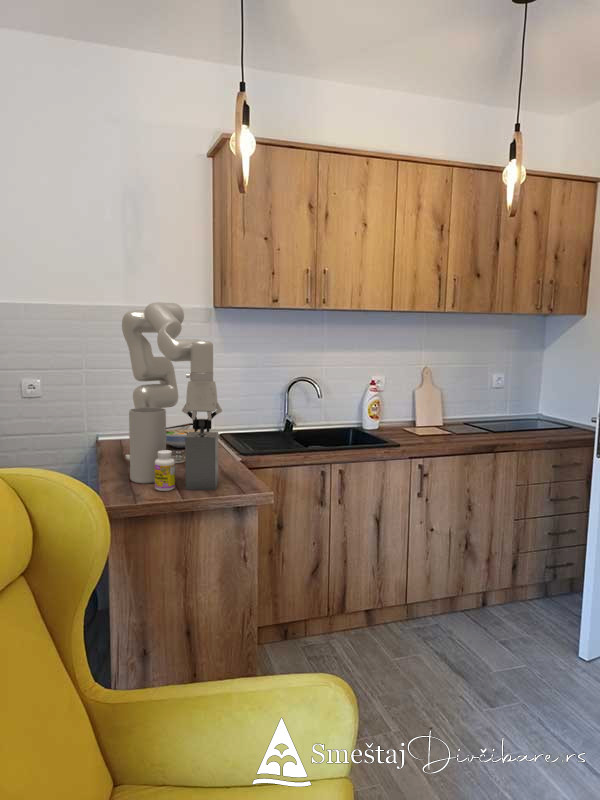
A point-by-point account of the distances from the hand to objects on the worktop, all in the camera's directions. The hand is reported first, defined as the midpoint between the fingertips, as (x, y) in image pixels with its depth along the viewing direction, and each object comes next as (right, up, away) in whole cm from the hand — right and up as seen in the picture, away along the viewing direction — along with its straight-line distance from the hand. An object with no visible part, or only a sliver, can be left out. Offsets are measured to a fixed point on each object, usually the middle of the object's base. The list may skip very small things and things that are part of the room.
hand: (202, 430), depth 204 cm
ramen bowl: (-20, -11, +66) cm, 70 cm away
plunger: (0, -17, +2) cm, 17 cm away
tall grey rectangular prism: (0, -19, +4) cm, 19 cm away
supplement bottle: (-12, -20, -2) cm, 23 cm away
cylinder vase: (-21, -18, +10) cm, 29 cm away
